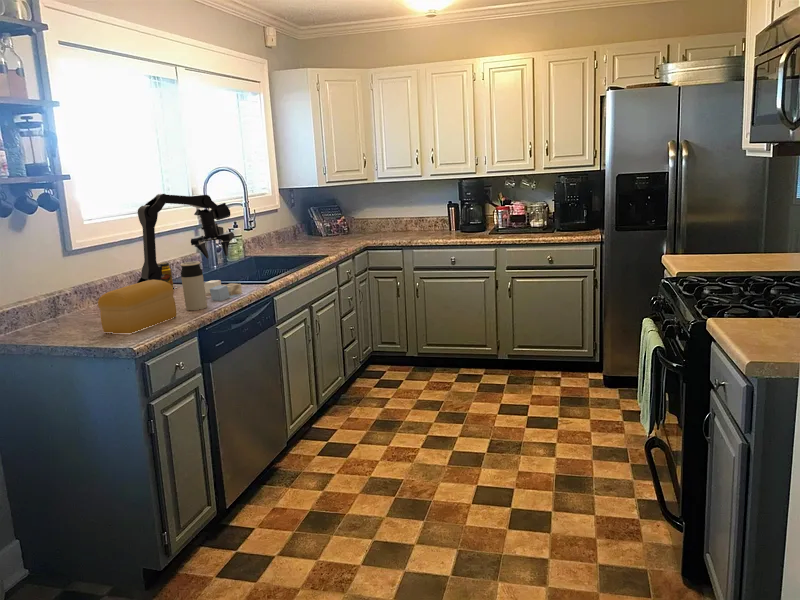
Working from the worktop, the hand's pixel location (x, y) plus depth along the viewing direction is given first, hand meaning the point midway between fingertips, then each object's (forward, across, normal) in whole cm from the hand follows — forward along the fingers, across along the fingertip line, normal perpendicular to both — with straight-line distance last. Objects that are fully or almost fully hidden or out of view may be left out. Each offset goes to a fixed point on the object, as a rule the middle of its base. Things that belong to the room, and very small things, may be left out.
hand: (217, 257), depth 298 cm
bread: (+7, 0, +66) cm, 66 cm away
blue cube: (+11, -12, +28) cm, 32 cm away
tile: (+12, -14, +24) cm, 30 cm away
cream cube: (+12, -1, +13) cm, 18 cm away
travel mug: (+10, -9, +43) cm, 45 cm away
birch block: (+13, -12, +19) cm, 26 cm away
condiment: (+12, +28, +2) cm, 31 cm away
